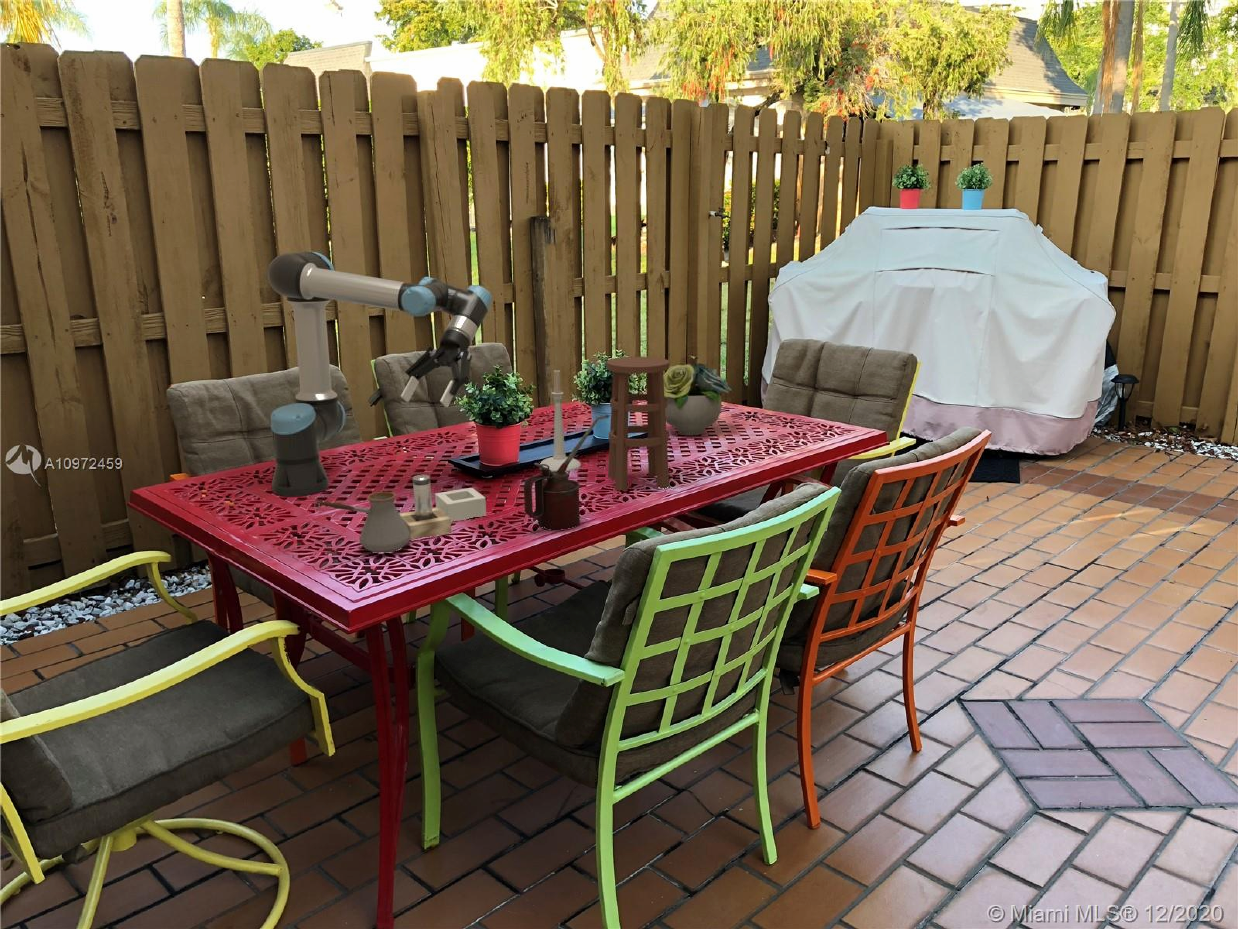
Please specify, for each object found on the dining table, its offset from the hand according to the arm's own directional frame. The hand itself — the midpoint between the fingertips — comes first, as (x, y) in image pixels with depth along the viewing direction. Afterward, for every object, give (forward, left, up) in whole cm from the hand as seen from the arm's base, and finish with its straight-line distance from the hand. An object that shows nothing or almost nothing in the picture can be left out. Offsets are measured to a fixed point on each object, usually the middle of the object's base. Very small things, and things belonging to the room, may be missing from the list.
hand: (423, 401), depth 229 cm
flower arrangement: (+102, +28, -28) cm, 109 cm away
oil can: (+27, -31, -28) cm, 50 cm away
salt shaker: (-8, -21, -28) cm, 36 cm away
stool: (+57, -13, -28) cm, 65 cm away
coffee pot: (-24, -28, -28) cm, 46 cm away
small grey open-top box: (+4, -13, -28) cm, 31 cm away
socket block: (-8, -21, -28) cm, 36 cm away
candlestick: (+45, +14, -28) cm, 55 cm away
